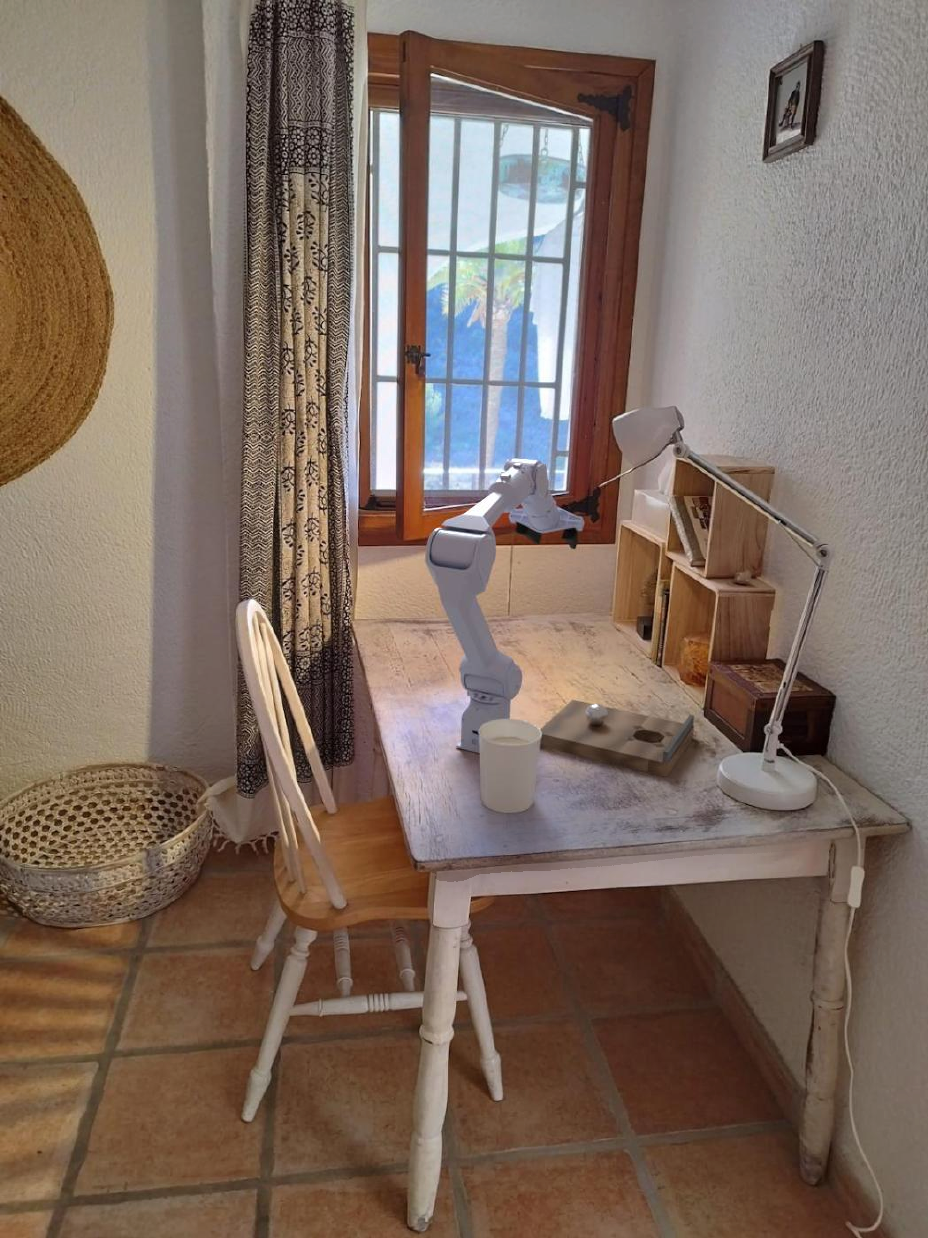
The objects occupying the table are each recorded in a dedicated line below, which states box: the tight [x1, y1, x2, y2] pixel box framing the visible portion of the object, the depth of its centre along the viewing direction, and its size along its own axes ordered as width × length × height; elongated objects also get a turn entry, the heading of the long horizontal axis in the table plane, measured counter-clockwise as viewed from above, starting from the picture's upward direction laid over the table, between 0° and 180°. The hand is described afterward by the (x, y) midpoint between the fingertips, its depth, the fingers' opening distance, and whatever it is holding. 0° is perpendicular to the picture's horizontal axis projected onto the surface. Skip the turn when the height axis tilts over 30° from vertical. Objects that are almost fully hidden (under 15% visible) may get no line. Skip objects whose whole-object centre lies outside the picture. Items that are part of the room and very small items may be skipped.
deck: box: [540, 699, 695, 778], centre depth 163 cm, size 24×18×4 cm
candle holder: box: [479, 718, 542, 814], centre depth 140 cm, size 10×10×12 cm
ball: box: [586, 703, 608, 725], centre depth 164 cm, size 4×4×4 cm
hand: (556, 542), depth 176 cm, fingers open, 7 cm apart
